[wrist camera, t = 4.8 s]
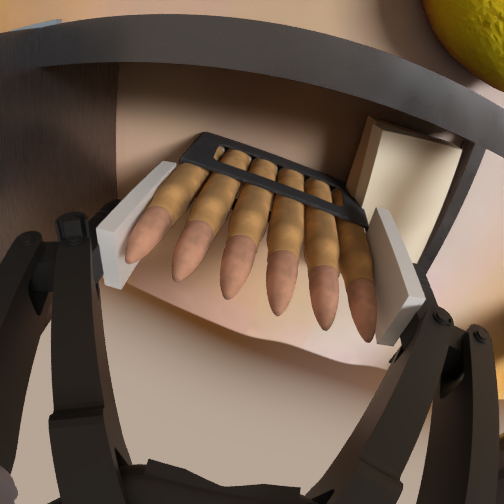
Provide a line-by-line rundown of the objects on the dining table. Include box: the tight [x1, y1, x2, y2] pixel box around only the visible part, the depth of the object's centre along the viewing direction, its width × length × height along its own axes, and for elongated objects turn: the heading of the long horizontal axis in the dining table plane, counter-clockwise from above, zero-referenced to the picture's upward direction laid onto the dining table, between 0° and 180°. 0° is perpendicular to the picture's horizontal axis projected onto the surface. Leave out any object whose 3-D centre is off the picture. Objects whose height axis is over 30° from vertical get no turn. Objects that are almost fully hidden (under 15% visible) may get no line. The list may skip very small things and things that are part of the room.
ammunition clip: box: [125, 132, 377, 343], centre depth 15 cm, size 11×2×12 cm, turn 72°
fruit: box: [421, 0, 504, 92], centre depth 9 cm, size 11×10×8 cm
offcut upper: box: [338, 124, 462, 277], centre depth 18 cm, size 6×10×1 cm, turn 175°
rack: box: [0, 14, 504, 334], centre depth 14 cm, size 26×16×16 cm, turn 80°
